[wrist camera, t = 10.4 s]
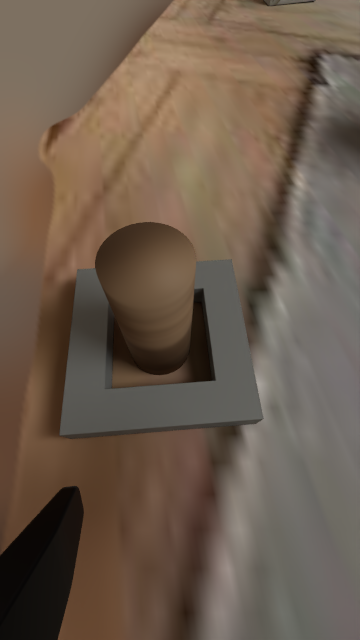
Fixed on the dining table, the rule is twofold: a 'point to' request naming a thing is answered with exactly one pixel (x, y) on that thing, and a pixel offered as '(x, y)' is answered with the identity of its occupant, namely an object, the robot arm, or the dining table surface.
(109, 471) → the dining table surface
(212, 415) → the socket block
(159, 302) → the tall walnut peg
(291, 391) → the dining table surface
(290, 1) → the coffee box
